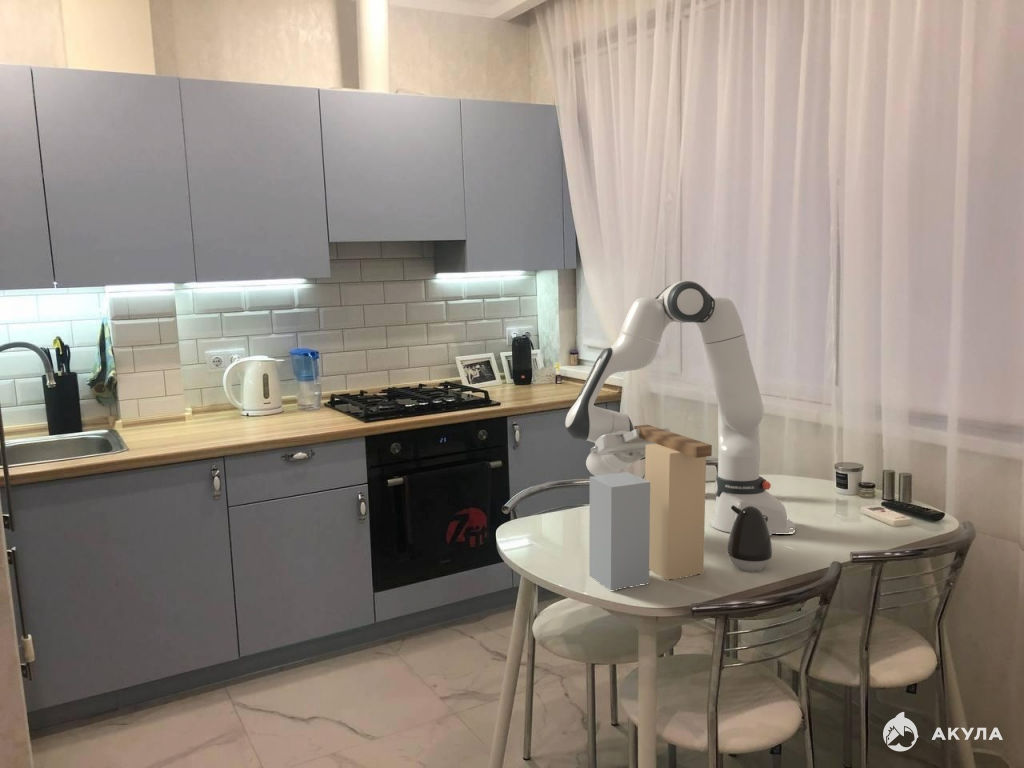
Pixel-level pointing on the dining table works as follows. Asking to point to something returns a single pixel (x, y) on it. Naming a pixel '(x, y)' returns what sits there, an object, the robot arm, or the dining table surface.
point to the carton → (675, 511)
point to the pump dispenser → (749, 540)
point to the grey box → (619, 530)
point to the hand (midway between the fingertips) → (648, 430)
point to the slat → (675, 441)
